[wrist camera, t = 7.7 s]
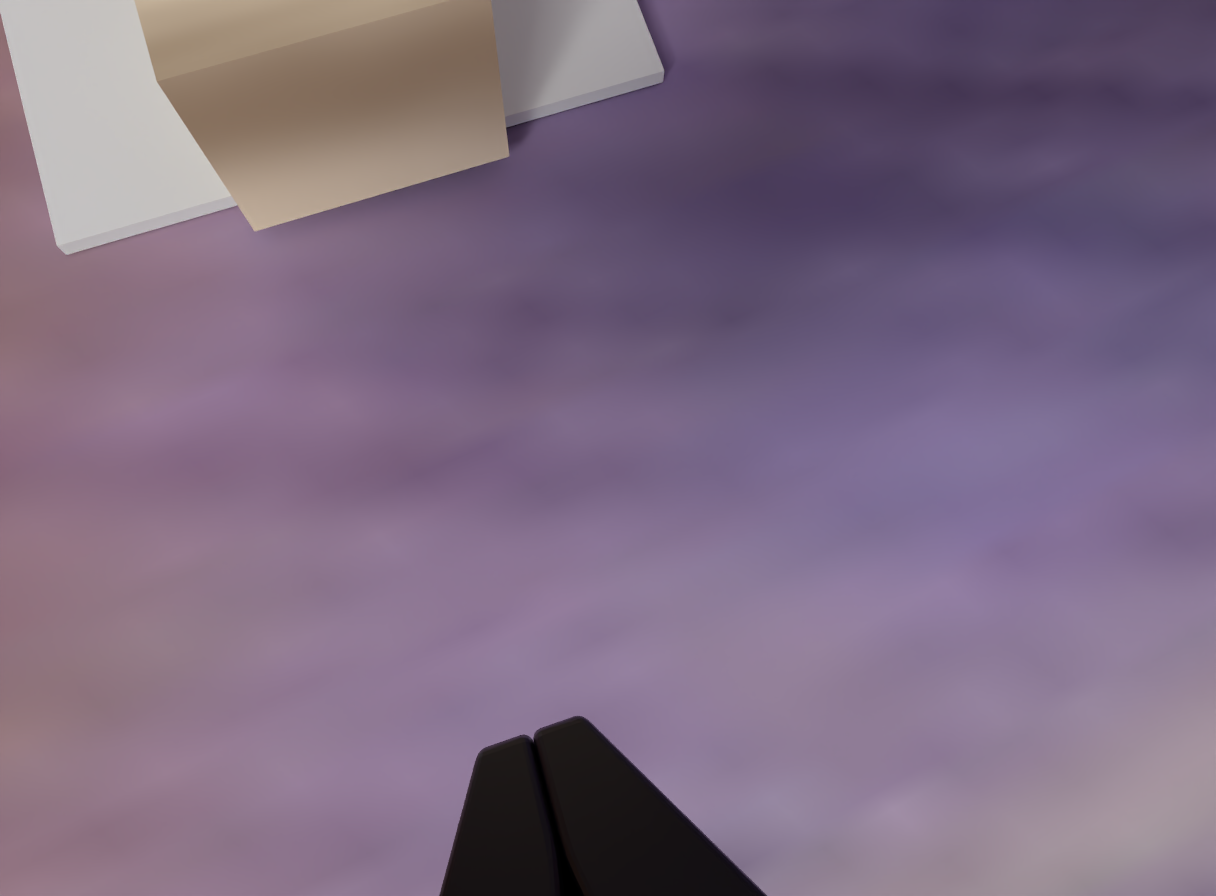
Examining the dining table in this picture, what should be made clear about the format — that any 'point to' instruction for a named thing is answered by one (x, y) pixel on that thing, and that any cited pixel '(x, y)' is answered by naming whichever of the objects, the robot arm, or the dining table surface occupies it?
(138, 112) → the mat
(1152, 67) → the dining table surface
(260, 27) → the block
